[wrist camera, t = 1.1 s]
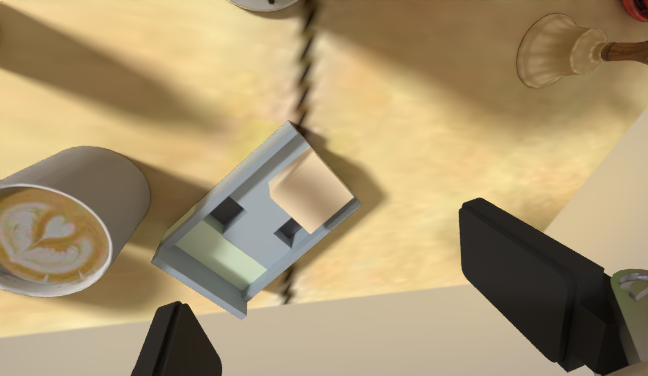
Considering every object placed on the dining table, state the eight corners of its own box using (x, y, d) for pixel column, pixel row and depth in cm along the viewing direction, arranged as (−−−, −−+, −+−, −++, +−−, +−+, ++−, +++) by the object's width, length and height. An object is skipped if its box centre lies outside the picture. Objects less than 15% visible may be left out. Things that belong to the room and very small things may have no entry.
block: (309, 145, 32) (317, 156, 28) (343, 182, 34) (354, 197, 31) (268, 182, 32) (270, 197, 29) (304, 216, 35) (310, 234, 31)
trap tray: (288, 120, 33) (295, 131, 27) (351, 191, 38) (368, 213, 33) (166, 231, 35) (150, 262, 29) (242, 284, 40) (241, 320, 34)
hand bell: (553, 95, 39) (728, 114, 25) (505, 79, 37) (667, 90, 22) (587, 25, 37) (804, 2, 22) (536, 3, 34) (744, -38, 20)
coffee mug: (147, 149, 31) (104, 186, 22) (153, 233, 34) (119, 294, 25) (-16, 139, 27) (-146, 176, 18) (10, 233, 31) (-88, 303, 22)
